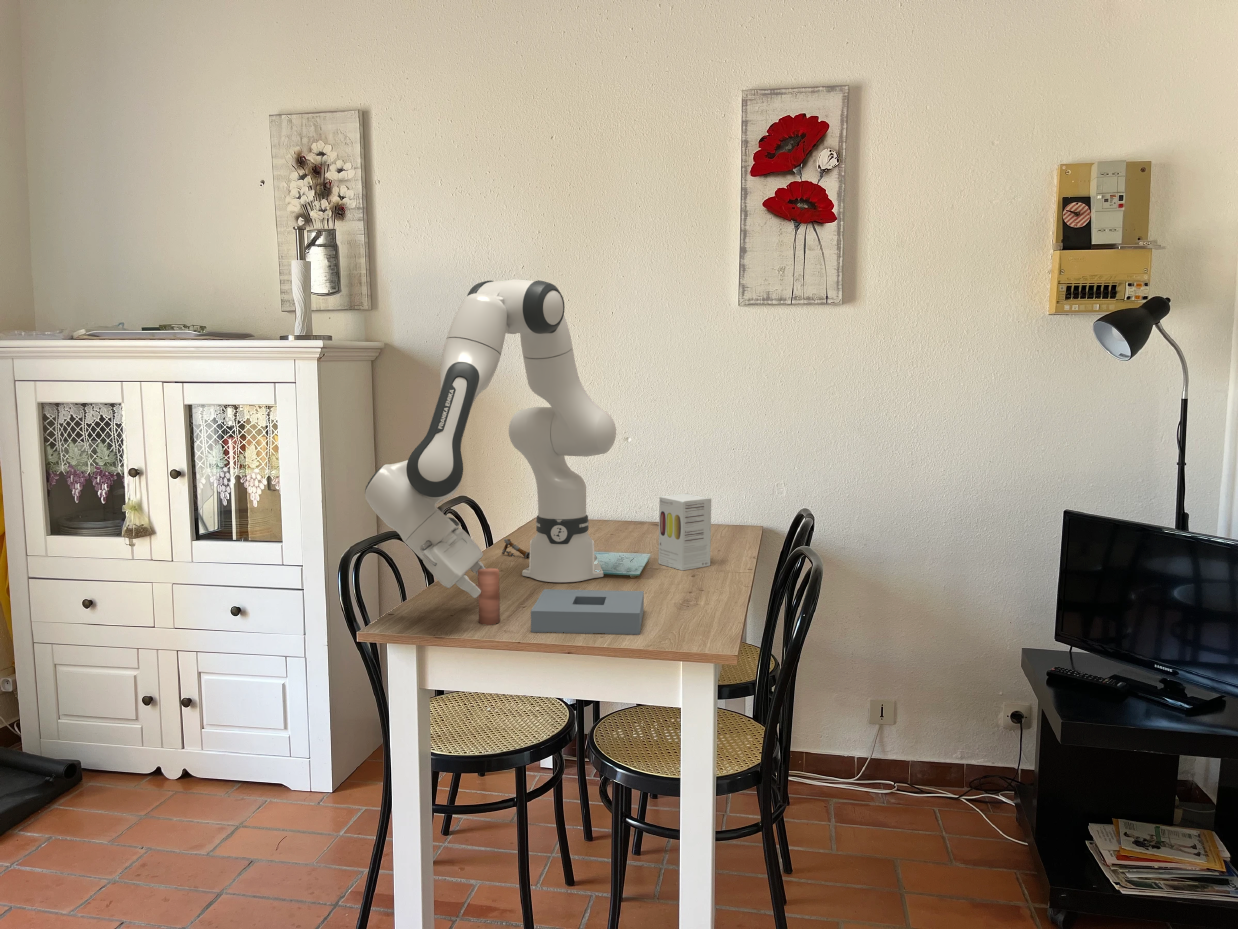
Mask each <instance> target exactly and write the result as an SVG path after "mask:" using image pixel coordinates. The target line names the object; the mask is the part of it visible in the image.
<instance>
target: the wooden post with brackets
mask: <svg viewBox="0 0 1238 929" xmlns="http://www.w3.org/2000/svg"><path fill="white" fill-rule="evenodd" d="M503 541H504V543H505V545H504V547H503V549H502V552H501V554H502V555H505V554H506V555H507V556H509V557H510V556H511V557H512V556H514V557H515V555H514V554H515V553H513V552H512V551H511V550H510V551H508V550H507V549H508V548H512V549H513V550H515V551H516V552H518V553H519V554H520V555H522V556H523V559H524V558H525V559H527V558H526V557H528V558H530V551H527V550H524V549H522V548H521V547H519V546H518V545H517V544H515V543H513V541H511V539H510V538H504V539H503Z"/></svg>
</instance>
